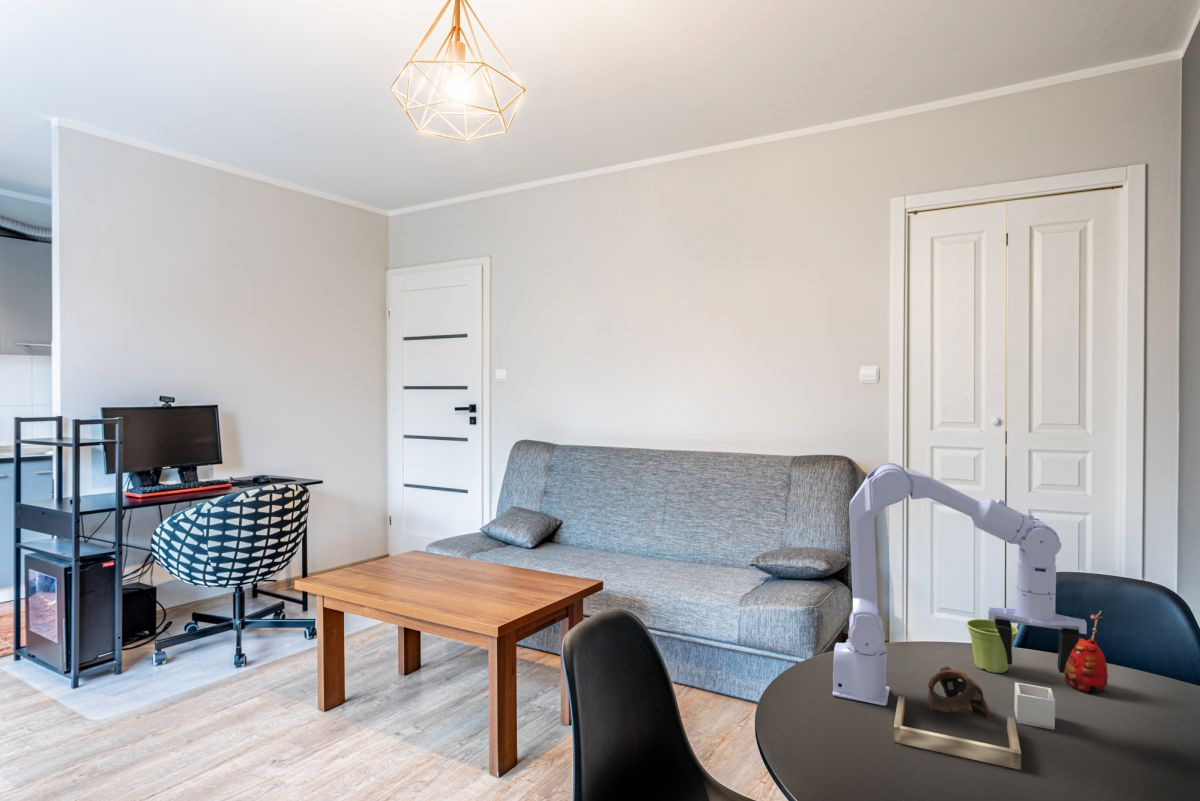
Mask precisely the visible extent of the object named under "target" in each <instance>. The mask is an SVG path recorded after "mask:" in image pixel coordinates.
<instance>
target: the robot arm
mask: <svg viewBox="0 0 1200 801" xmlns="http://www.w3.org/2000/svg"><path fill="white" fill-rule="evenodd" d="M905 469H906V470H905ZM905 469H904V468H903V466H901V465H899V464H897V463H894V462H886V463H882V464H880V465H879V466H877V467H876V468H875V469H873V470H872V471H870V472H869V473H868V474H867V475H866V477H865V479H864V480H863V482H862V484H861V485H860V487H859V488H858V489H857V491H856V492H855V494H854V495H853V497H852V498H851V499H850V502H849V507H848V510H849V511H848V512H849V513H848V514H849V515H848V516H849V536H850V537H849V539H850V562H851V563H850V564H851V565H850V566H851V586H852V587H851V588H852V589H851V590H852V610H851V611H850V615H849V616H848V622H849V623H848V624H849V626H848V627H849V628H848V634H847V635H848V636H847V637H848V638H847V639H846V641H845V642H836V643H835V645H834V651H833V666H832V671H833V672H832V686H833V687H832V696H835V697H838V698H844V699H849V700H854V701H860V702H863V703H864V702H865V703H870V704H874V705H878V706H885V707H886V706H887V705H888V701H889V697H890V696H889V695H890V690H891V689H890V688H891V687H890V686H887V650H888V649H887V645H886V644H885V643H886V642H885V641H886V636H885V632H884V618H883V616H882V614H881V613H880V611H879V606H878V604H879V602H878V601H879V600H878V579H877V578H878V577H877V576H878V575H877V556H876V555H877V552H876V549H877V548H876V531H875V530H876V529H875V528H876V526H875V525H876V523H875V518H876V516H877V515H878V514H880V513H881V512H882V511H883V510H885V509H886V508H887V507H889V506H891V505H895V504H897V503H900V502H903V500H905V499H906V498H907V497H908V496H910V498H911V500H918V499H919V500H920V499H930V500H932V501H935V502H937V503H939V504H941V505H943V506H945V507H949V509H953V510H955V511H958V512H959V513H962V514H964V515H966V516H969V517H970V518H971V521H972V523H973V526H974V527H975V528H977V529H979V530H981V531H983V532H986V533H988V534H989V535H992V536H994V537H996V538H998V539H1001V540H1003V541H1005V542H1007V543H1008V544H1011V545H1018V546H1019V547H1018V560H1017V564H1016V565H1017V569H1016V570H1017V571H1016V572H1017V575H1016V576H1017V579H1016V608H1008V607H1007V608H1003V607H991V606H988V607H987V620H989V621H995V625H996V628H997V631H998V633H999V635H1000V637H1001V639H1002V642H1003V645H1004V648H1005V651H1006V657H1007V664H1009V666H1012V665H1013V653H1012V652H1013V649H1012V650H1011V643H1012V628H1011V625H1012V624H1019V625H1025V626H1026V625H1027V626H1032V627H1033V626H1034V627H1040V628H1047V629H1055V630H1058V656H1057V671H1058V673H1059V674H1064V671H1065V666H1066V663H1067V660H1068V658H1069V656H1070V654H1071V652H1072V650H1073V649H1074V647H1075V646H1076V644H1077V643H1078V641H1079V639H1080V636H1081V635H1082V634H1083V635H1087V628H1088V627H1087V625H1088V624H1087V622H1086V619H1082V618H1076V617H1072V616H1066V615H1061V614H1057V613H1056V598H1057V597H1056V592H1057V591H1056V590H1057V589H1056V588H1057V587H1056V585H1057V584H1056V583H1057V566H1056V557H1057V556H1056V555H1058V554H1059V553H1060V551H1061V549H1062V546H1063V544H1062V542H1061V541H1060V537H1059V535H1058V533H1057V532H1056V530H1054V528H1052V527H1051V526H1049V525H1048V524H1047V523H1045V522H1044V521H1042V520H1040V519H1039V518H1036V517H1035V516H1034V515H1033V514H1030V513H1026V514H1024V513H1022V512H1020V511H1018V510H1016V509H1014V508H1011V507H1009V506H1008V505H1007V502H1006V501H1004V500H1002V499H1000V498H997V499H996V500H994V499H992V498H987V499H982V500H977V499H975V498H973V497H971V496H969V495H967V494H965V493H964V492H961V491H959V490H957V489H955V488H953V487H952V486H949V485H948V484H945V483H944V482H941V481H939V480H937V479H935V478H934V477H932V476H929V475H927V474H924V473H922V472H919V471H917V470H914V469H911V468H907V467H906V468H905ZM1080 634H1081V635H1080Z"/></svg>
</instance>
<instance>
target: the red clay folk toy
mask: <svg viewBox="0 0 1200 801" xmlns="http://www.w3.org/2000/svg"><path fill="white" fill-rule="evenodd" d="M1101 614H1102V610H1099V612H1098V613H1097V614H1090V620H1094V626H1093V628H1092V629H1091V631H1092V635H1091V637H1090V639H1087V640H1086V639H1085V638H1080V639H1079V641H1078V643H1077V644H1076V646H1075V647H1074V649H1073V650H1072V652H1071V654H1070V656H1069V658H1068V660H1067V663H1066V666H1065V671H1064V673H1063V675H1064V678H1063V679H1064V681H1065V682H1066V683H1068V684H1069V686H1071V687H1072V688H1073V689H1076V690H1078V691H1079V692H1083V693H1089V692H1093V693H1100V692H1102V691H1103V690H1105V688H1106V687H1107V686H1108V677H1109V676H1108V675H1109V674H1108V665H1107V661H1106V656H1105V654H1104V653H1103V651H1102V649H1101V648H1100V647H1099V646H1098V643H1097V641H1096V639H1095V634H1096V633H1097V632H1098V630H1097V625H1098V621H1099V619H1103V616H1101Z"/></svg>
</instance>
